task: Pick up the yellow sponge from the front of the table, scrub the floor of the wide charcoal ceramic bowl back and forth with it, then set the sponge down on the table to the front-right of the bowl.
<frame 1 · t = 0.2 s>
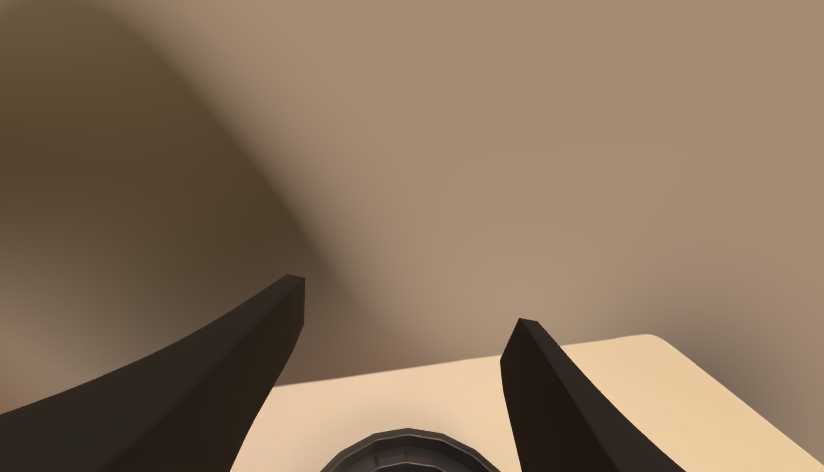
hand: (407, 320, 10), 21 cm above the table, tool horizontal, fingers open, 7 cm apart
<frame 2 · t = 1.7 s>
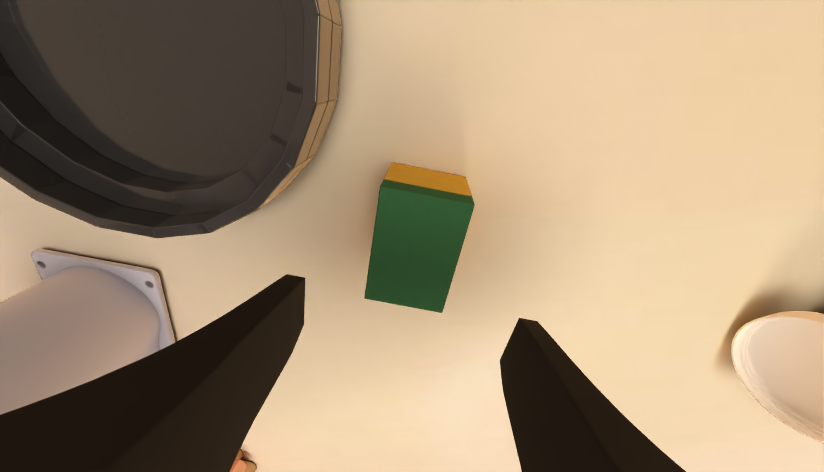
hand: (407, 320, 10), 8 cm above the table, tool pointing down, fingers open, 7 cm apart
bowl: (146, 24, 14), on the table
spread jar: (817, 339, 20), on the table
grandmother figurine: (235, 453, 31), on the table
sponge: (418, 220, 18), on the table
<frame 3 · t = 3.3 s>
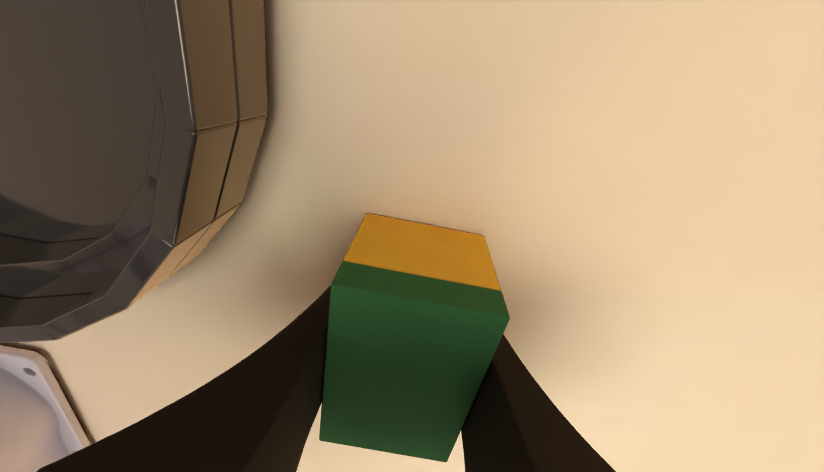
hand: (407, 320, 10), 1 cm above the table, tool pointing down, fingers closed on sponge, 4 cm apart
sponge: (409, 294, 12), on the table, touching gripper
when the fingers open (1 cm above the table, at t = 13.4 s): sponge stays where it is, on the table.
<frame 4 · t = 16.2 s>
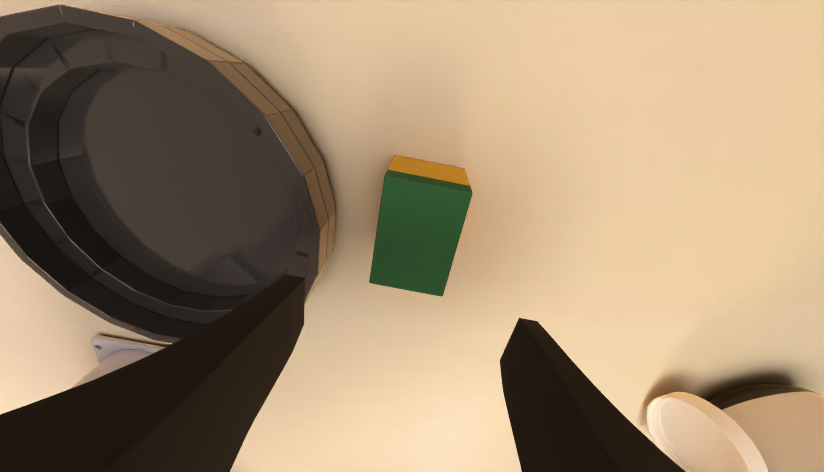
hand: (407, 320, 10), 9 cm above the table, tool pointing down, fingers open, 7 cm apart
bowl: (192, 198, 19), on the table
spread jar: (715, 407, 25), on the table
sponge: (419, 210, 19), on the table
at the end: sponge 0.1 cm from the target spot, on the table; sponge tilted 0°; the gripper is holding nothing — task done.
